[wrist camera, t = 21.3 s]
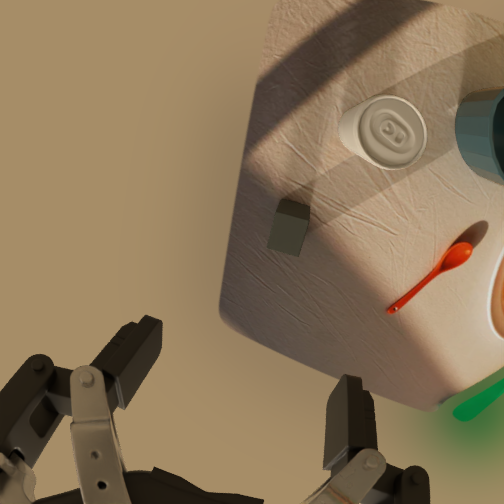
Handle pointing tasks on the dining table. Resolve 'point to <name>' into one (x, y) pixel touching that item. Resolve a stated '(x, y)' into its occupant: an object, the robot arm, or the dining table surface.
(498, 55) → the dining table surface
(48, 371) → the robot arm
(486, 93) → the teal round container
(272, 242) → the dark gray rectangular block
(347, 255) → the dining table surface
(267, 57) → the dining table surface
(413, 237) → the dining table surface
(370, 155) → the beverage can
